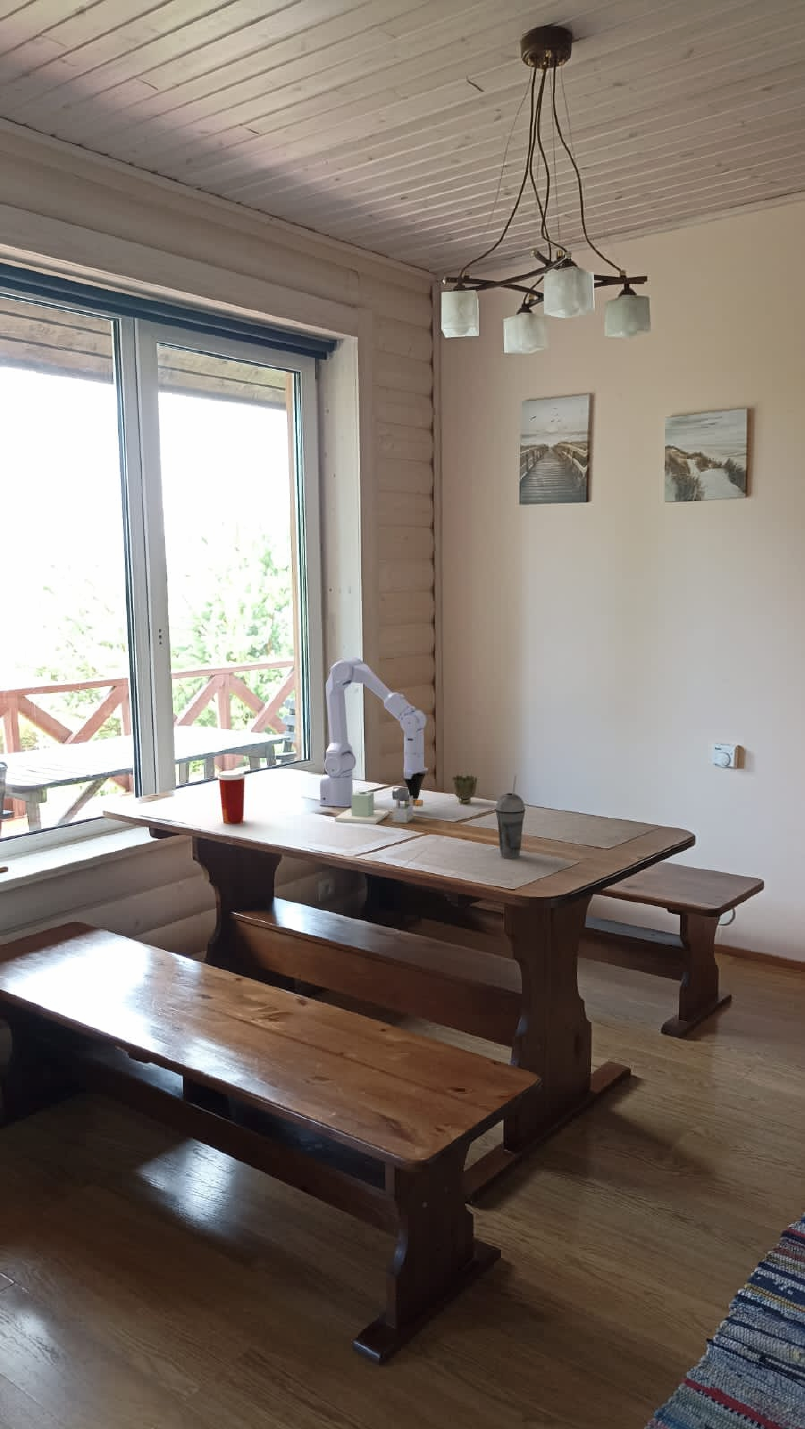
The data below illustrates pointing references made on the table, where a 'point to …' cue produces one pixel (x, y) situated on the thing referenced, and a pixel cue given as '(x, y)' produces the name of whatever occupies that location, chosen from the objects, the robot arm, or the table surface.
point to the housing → (362, 803)
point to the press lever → (404, 796)
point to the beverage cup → (510, 823)
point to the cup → (464, 788)
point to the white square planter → (403, 811)
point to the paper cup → (232, 796)
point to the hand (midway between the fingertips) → (414, 798)
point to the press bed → (371, 819)
